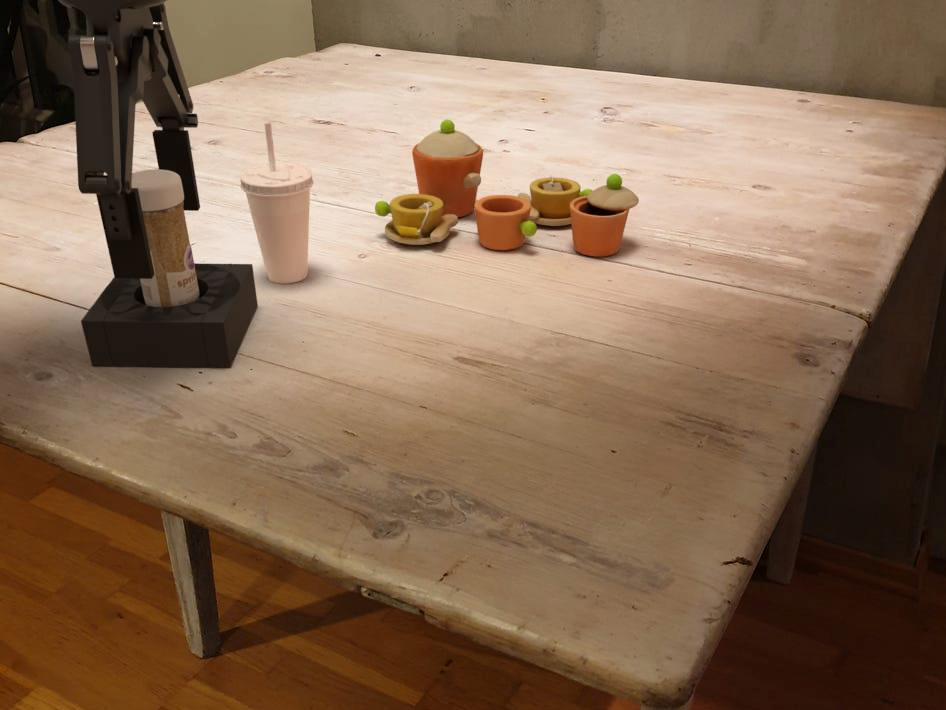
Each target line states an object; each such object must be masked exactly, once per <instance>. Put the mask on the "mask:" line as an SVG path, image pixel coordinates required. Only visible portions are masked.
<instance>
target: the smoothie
mask: <svg viewBox="0 0 946 710" xmlns="http://www.w3.org/2000/svg"><path fill="white" fill-rule="evenodd" d="M272 129H273V128H272V122H271V121H264V132H265V141H266V148H267V149H266V150H267V157H268V163H264V164H258V165H255V166H252V167H249V168H246V169H245V170H243V171H242V173H240V176H239V180H240V189H241V190H242V191H243V192H244V193H245V195H246V199H247V205H248V208H249V211H250V215H251V219H252V223H253V227H254V230H255V234H256V238H257V242H258V246H259V250H260V253H261V257H262V262H263V265H264V268H265V272H266V276H267V280H269V281H271V282H273V283H276V284H284V285H285V284H294V283H297V282H301V281H303V280H304V279H306V278H307V276H308V269H309V267H308V265H309V261H308V260H309V237H310V236H309V233H310V232H309V231H310V206H311V204H310V203H311V200H310V199H311V195H310V194H311V188H312V187H313V186H314V179H313V172H312V170H311V169H310V168H308V167H307V166H305V165H301V164H298V163H290V162H276V155H275V148H274V147H275V146H274V138H273V130H272Z"/></svg>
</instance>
